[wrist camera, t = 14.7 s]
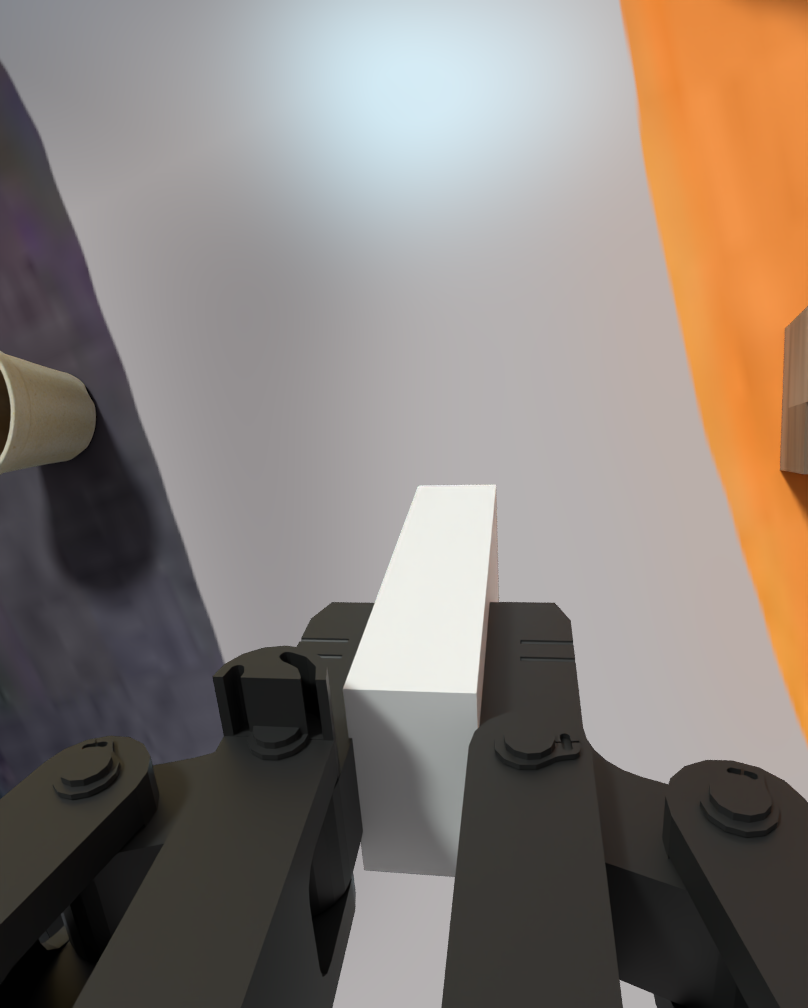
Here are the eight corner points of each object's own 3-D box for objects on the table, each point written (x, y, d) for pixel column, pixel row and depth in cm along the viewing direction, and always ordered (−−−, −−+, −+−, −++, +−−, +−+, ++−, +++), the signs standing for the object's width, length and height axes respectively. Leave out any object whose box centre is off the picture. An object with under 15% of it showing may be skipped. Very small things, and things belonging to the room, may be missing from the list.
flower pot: (105, 335, 50) (-3, 313, 42) (128, 472, 50) (25, 476, 42) (2, 364, 53) (-116, 349, 45) (24, 492, 54) (-90, 500, 46)
